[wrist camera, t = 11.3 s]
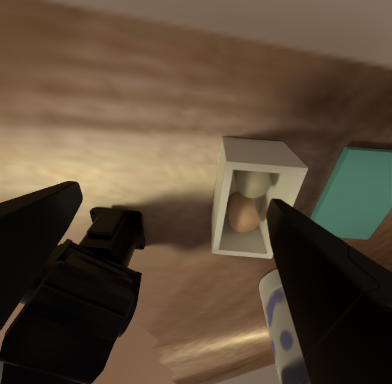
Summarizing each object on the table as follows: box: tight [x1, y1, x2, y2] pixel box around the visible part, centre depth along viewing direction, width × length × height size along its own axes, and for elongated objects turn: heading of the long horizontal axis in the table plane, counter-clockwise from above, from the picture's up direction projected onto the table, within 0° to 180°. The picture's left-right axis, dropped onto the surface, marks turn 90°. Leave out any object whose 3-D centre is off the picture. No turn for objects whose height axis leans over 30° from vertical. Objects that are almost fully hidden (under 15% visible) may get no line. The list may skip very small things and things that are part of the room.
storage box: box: [211, 137, 308, 259], centre depth 20 cm, size 10×6×6 cm, turn 176°
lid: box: [310, 146, 392, 240], centre depth 22 cm, size 11×7×2 cm
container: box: [259, 269, 311, 384], centre depth 23 cm, size 10×10×20 cm
